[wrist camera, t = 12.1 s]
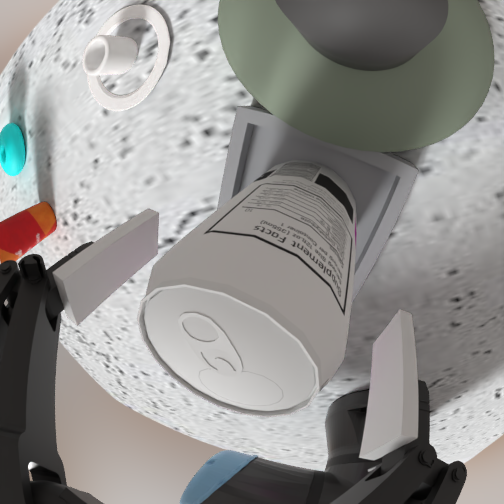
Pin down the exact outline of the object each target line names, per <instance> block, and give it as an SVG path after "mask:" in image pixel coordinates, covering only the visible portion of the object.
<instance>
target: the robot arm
mask: <svg viewBox="0 0 504 504" xmlns="http://www.w3.org/2000/svg"><path fill="white" fill-rule="evenodd" d="M158 224H159V213H158V212H156V211H153V210H151V209H146V210H145V211H143V212H141V213H140V214H138V215H136V216H135V217H133V218H132V219H130V220H128V221H127V222H125V223H124V224H122V225H120V226H119V227H117V228H116V229H114V230H113V231H111V232H110V233H108V234H106V235H105V236H103V237H102V238H100V239H99V240H97V241H96V242H89V243H86V244H83V245H81V246H80V247H78V248H77V249H75V250H74V251H72V252H71V253H69V254H68V256H65V257H64V258H62V259H61V260H60V261H58V262H57V263H55V264H54V265H53V266H51V267H50V268H49V269H47V270H46V268H45V265H44V261H43V258H42V257H41V256H40V255H38V254H31V255H28V256H25V257H24V258H23V259H21V260H20V262H19V263H18V265H19V268H20V270H19V268H18V265H17V263H16V261H14V260H7V261H4V262H3V263H1V264H0V504H103V503H102V502H100V501H99V500H98V499H96V498H95V497H93V496H92V495H91V494H89V493H86V492H82V491H79V490H77V489H74V488H72V487H68V486H67V484H66V478H65V471H64V466H63V463H62V460H61V458H60V456H59V454H58V452H57V444H56V429H55V375H56V359H57V348H58V339H59V331H60V323H61V313H60V312H62V311H63V310H65V313H66V315H67V318H68V319H70V320H71V321H72V322H73V323H75V324H76V325H77V326H78V325H79V324H80V323H81V322H82V321H83V320H84V319H85V318H86V317H87V316H88V315H90V314H91V313H92V312H93V311H94V310H95V309H96V308H97V307H98V306H99V305H100V304H101V303H102V302H104V301H105V300H106V299H107V298H108V297H109V296H110V295H111V294H112V293H114V292H115V291H116V290H117V289H118V288H119V287H120V286H121V285H122V284H124V283H125V282H126V281H127V280H128V279H129V278H130V277H132V276H133V275H134V274H135V273H136V272H137V271H138V270H140V269H141V268H142V267H143V266H144V265H145V264H147V263H148V262H149V261H150V260H151V259H153V258H154V257H155V256H156V255H157V254H158ZM6 299H7V301H8V305H7V306H5V305H4V302H5V300H6ZM325 428H326V437H327V446H328V461H327V465H326V469H325V472H323V471H317V470H311V469H306V468H300V467H295V466H290V465H286V464H281V463H277V462H273V461H269V460H265V459H262V458H258V456H257V455H253V456H251V455H247V454H244V453H240V452H236V451H232V450H225V451H221V452H219V453H217V454H215V455H214V456H212V457H211V458H210V459H209V460H208V461H207V462H206V463H205V464H204V465H203V466H202V467H201V468H200V469H199V470H198V472H197V473H196V474H195V475H194V477H193V478H192V480H191V481H190V483H189V484H188V486H187V487H186V489H185V491H184V493H183V495H182V497H181V500H180V504H456V502H457V499H458V497H459V495H460V493H461V490H462V488H463V485H464V483H465V480H466V476H467V470H466V467H465V465H464V464H463V463H462V462H460V461H455V462H453V463H451V464H447V463H445V462H443V461H441V460H440V459H438V458H437V454H436V451H435V449H434V447H433V446H431V445H430V444H429V431H430V413H429V391H428V388H427V386H426V383H425V382H423V381H420V380H418V371H417V356H416V345H415V335H414V326H413V319H412V314H411V313H409V312H406V311H404V310H401V309H399V310H398V312H397V313H396V315H395V316H394V317H393V319H392V320H391V321H390V323H389V324H388V325H387V327H386V328H385V329H384V331H383V332H382V333H381V334H380V336H379V337H378V338H377V339H376V341H375V342H374V343H373V353H372V367H371V379H370V389H369V390H366V391H360V392H356V393H352V394H349V395H346V396H344V397H342V398H340V399H338V400H336V401H335V402H334V403H332V405H331V406H330V407H329V409H328V413H327V417H326V421H325ZM28 469H29V470H30V472H31V474H32V479H33V481H30V478H29V470H28Z"/></svg>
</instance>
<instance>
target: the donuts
mask: <svg viewBox="0 0 504 504" xmlns="http://www.w3.org/2000/svg"><path fill="white" fill-rule="evenodd" d="M0 163H1V166H2V168H3V169H4V171H5V172H6V173H7V174H8V175H11V176H16V175H18V174H19V173H20V172H21V171H22V169H23V166H24V163H25V144H24V139H23V135H22V132H21V130H20V128H19V127H18V126H17V125H16V124H14V123H10V124H7V125H6V126H5V127H4V128H3V129H2V131H1V133H0Z"/></svg>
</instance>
